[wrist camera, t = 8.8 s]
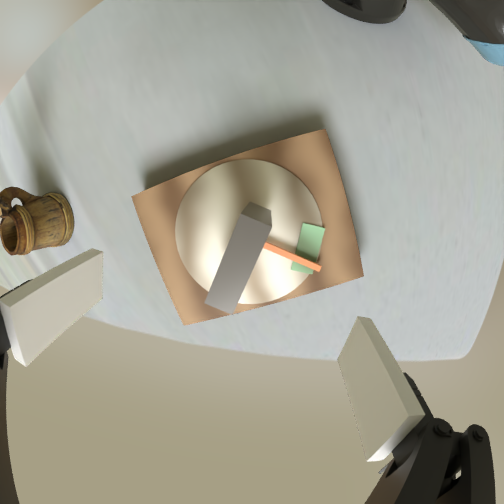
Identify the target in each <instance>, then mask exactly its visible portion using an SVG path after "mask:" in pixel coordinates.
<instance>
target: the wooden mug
mask: <svg viewBox="0 0 504 504" xmlns="http://www.w3.org/2000/svg"><path fill="white" fill-rule="evenodd" d="M13 198H18V199H20V201H21V202H22V206H21V205H17V204H16V205H14V207H13V208H12V206H11V201H12V200H13ZM0 217H1V218H2V220H1V224H0V236H1V241H2V244H3V247H4V248H5V250H6V251H7V252H8V253H9V254H10V255H16V254H18V255H25V254H28V253H30V252H31V251H33V250H37V249H42V248H46V247H57V246H62V245H65V244H66V243H67V242H68V241H69V240H70V238H71V236H72V233H73V229H74V217H73V213H72V210H71V207H70V205H69V203H68V202H67V200H66V198H64V197H63V196H62V195H61V194H58V193H52V192H50V193H47V194H45V195H43V196H42V197H41V196H34V195H32V194H30V193H28V192H26V191H24V190H22V189H20V188H18V187H9V188H5V189H4V190H3V191H1V192H0Z"/></svg>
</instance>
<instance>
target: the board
mask: <svg viewBox="0 0 504 504" xmlns="http://www.w3.org/2000/svg"><path fill="white" fill-rule="evenodd" d="M131 197H132V200H133V203H134V206H135V209H136V211H137V214H138V217H139V220H140V223H141V225H142V228H143V231H144V233H145V236H146V239H147V241H148V244H149V247H150V249H151V252H152V254H153V257H154V259H155V262H156V264H157V267H158V269H159V271H160V274H161V276H162V278H163V281H164V283H165V285H166V288H167V290H168V292H169V294H170V297H171V299H172V301H173V303H174V306H175V308H176V310H177V312H178V314H179V316H180V318H181V320H182V323H183V325H189V324H193V323H198V322H202V321H206V320H211V319H215V318H219V317H223V316H227V315H231V314H229V313H227V312H224V311H222V310H219V309H217V308H215V307H212V306H210V305H207V304H205V300H206V298H207V295H208V292H209V290H210V287H211V285H212V282H213V280H214V277H215V275H216V272H217V270H218V267H219V265H220V262H221V260H222V257H223V255H224V253H225V250H226V248H227V245H228V243H229V240H230V238H231V235H232V233H233V231H234V228H235V226H236V223H237V221H238V219H239V216H240V214H241V212H242V211H243V210H244V208H245V207H246V206H247V205H248V203H249V202H253V203H255V204H257V205H260V206H262V207H264V208H267V209H269V210H271V216H272V229H271V231H270V233H269V235H268V238H267V240H266V242H269V243H271V244H273V245H276V246H278V247H280V248H283V249H285V250H287V251H290V252H292V253H294V254H297V255H299V256H301V257H303V258H306V259H308V260H310V261H313V262H315V263H317V264H319V265H321V266H322V267H321V269H320V271H319V272H318V271H316V270H313V269H311V268H309V267H306V266H304V265H302V264H299V263H297V262H295V261H292V260H290V259H288V258H285V257H283V256H281V255H278V254H276V253H274V252H271V251H269V250H267V249H264V248H263V249H262V251H261V253H260V255H259V258H258V260H257V262H256V264H255V267H254V269H253V271H252V273H251V275H250V278H249V280H248V282H247V284H246V286H245V289H244V291H243V293H242V295H241V297H240V299H239V302H238V304H237V306H236V308H235V310H234V313H233V314H235V313H239V312H243V311H247V310H251V309H255V308H259V307H262V306H266V305H270V304H274V303H277V302H281V301H284V300H288V299H291V298H295V297H298V296H302V295H305V294H309V293H312V292H315V291H319V290H322V289H325V288H329V287H332V286H335V285H338V284H341V283H345V282H348V281H351V280H354V279H357V278H360V277H363V276H364V274H363V269H362V264H361V258H360V253H359V249H358V244H357V239H356V235H355V230H354V226H353V222H352V217H351V213H350V209H349V205H348V202H347V198H346V194H345V190H344V187H343V183H342V180H341V176H340V173H339V169H338V166H337V163H336V159H335V156H334V153H333V150H332V147H331V144H330V141H329V138H328V135H327V132H326V129H322V130H318V131H314V132H310V133H306V134H302V135H299V136H295V137H291V138H288V139H284V140H281V141H277V142H274V143H270V144H267V145H264V146H261V147H257V148H254V149H251V150H248V151H245V152H242V153H239V154H236V155H233V156H230V157H227V158H225V159H222V160H219V161H216V162H213V163H211V164H208V165H205V166H203V167H200V168H197V169H195V170H192V171H190V172H187V173H185V174H182V175H180V176H177V177H175V178H172V179H170V180H168V181H165V182H163V183H161V184H158V185H156V186H154V187H151V188H149V189H147V190H145V191H142V192H140V193H138V194H136V195H134V196H131Z"/></svg>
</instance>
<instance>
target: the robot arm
mask: <svg viewBox="0 0 504 504" xmlns="http://www.w3.org/2000/svg"><path fill="white" fill-rule="evenodd" d="M322 1H324V2H325V3H326V4H327V5H329V6H330V7H332V8H333V9H335V10H336V11H338V12H340V13H342V14H344V15H346V16H348V17H351V18H354V19H356V20H360V21H363V22H368V23H376V24H383V23H389V22H392V21H394V20H396V19H397V18H398V17H399V16H400V15H401V14H402V13H403V11H404V10H405V8H406V3H407V0H322ZM429 1H430V2H431V3H432V4H434V5H435V6H436V7H437V8H438V9H439V10H440V11H441V12H442V13H443V14H444V15H445V16H446V17H447V18H448V19H449V20H450V21H451V22H452V23H453V24H454V25H455V26H456V28H457V29H458V30H459V31H460V32H461V33H462V35H463V37H464V38H465V39H466V40H467V41H469V42H470V43H471V44H472V45H473V46H474V47H475V48H476V50H477V51H478V52H479V53H480V54H481V56H482V57H483V58H484V59H486V60H487V61H489V62H491V63H493V64H496V65H499V66H504V0H429ZM102 281H103V252H102V251H99V250H96V249H93V248H92V249H90V250H88V251H86V252H84V253H82V254H80V255H78V256H76V257H74V258H72V259H70V260H68V261H66V262H64V263H62V264H60V265H58V266H56V267H55V268H53V269H51V270H49V271H47V272H45V273H44V274H42V275H40V276H38V277H36V278H34V279H32V280H28V281H26V282H24V283H23V284H21V285H20V286H17V287H16V288H14V290H13V289H12V290H11V291H9V292H7V293H5V294H4V295H2V296H1V297H0V504H19V501H18V497H17V493H16V489H15V484H14V479H13V474H12V469H11V462H10V455H9V448H8V439H7V438H8V437H7V424H6V382H7V367H8V354H7V350H8V349H9V348H11V349H12V352H13V355H14V358H15V359H16V360H17V361H19V362H20V363H21V364H23V365H24V366H28V365H29V364H30V363H31V362H32V361H33V360H34V359H35V358H36V357H37V356H38V355H39V354H40V353H41V352H42V351H43V350H45V349H46V348H47V347H48V346H49V345H50V344H51V343H52V342H53V341H54V340H55V339H56V338H58V337H59V336H60V335H61V334H62V333H63V332H64V331H65V330H67V329H68V328H69V327H70V326H71V325H72V324H73V323H74V322H76V321H77V320H78V319H79V318H80V317H82V316H83V315H84V314H85V313H86V312H87V311H89V310H90V309H91V308H92V307H93V306H94V305H96V304H97V303H98V302H99V301H100V300H102V299H103V290H102ZM337 360H338V363H339V366H340V369H341V372H342V376H343V379H344V382H345V385H346V389H347V392H348V396H349V399H350V402H351V406H352V409H353V413H354V417H355V420H356V424H357V427H358V431H359V435H360V438H361V442H362V446H363V450H364V454H365V458H366V461H378V460H383V459H385V458H386V457H387V456H388V455H389V454H390V453H391V452H392V453H393V456H394V458H393V459H392V460H391V461H390V462H389V463H388V464H387V465H386V466H385V467H384V468H382V469H381V470H380V471H379V473H380V474H381V473H382V472H383V471H384V473H383V475H382V477H381V478H380V480H379V482H378V483H377V485H376V487H375V488H374V490H373V491H372V493H371V495H370V496H369V498H368V499H367V501H366V502H365V504H496V502H495V501H496V500H495V479H494V469H493V460H492V453H491V447H490V441H489V436H488V434H487V432H486V431H485V429H484V428H483V427H481V426H479V425H476V424H473V425H471V426H469V427H468V428H467V430H466V431H465V432H464V433H459V432H454V431H453V429H452V427H451V426H450V424H449V423H448V422H446V421H445V420H443V419H440V418H434V417H433V415H432V413H431V411H430V409H429V408H428V406H427V404H426V402H425V400H424V398H423V397H422V396H421V393H420V391H419V390H418V388H417V386H416V384H415V383H414V381H413V379H411V378H410V377H409V376H408V375H407V374H406V373H403V372H402V370H401V369H400V367H399V365H398V363H397V362H396V360H395V358H394V356H393V355H392V353H391V351H390V350H389V348H388V346H387V345H386V343H385V341H384V340H383V338H382V336H381V335H380V333H379V331H378V330H377V328H376V326H375V325H374V323H373V322H372V320H371V319H370V318H365V317H360V316H358V317H357V319H356V321H355V323H354V326H353V328H352V330H351V332H350V334H349V337H348V339H347V341H346V343H345V345H344V347H343V349H342V351H341V353H340V355H339V357H338V359H337ZM460 470H461V476H460V477H459V478H457V479H456V473H458V472H459V471H460Z"/></svg>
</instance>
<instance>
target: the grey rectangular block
mask: <svg viewBox="0 0 504 504" xmlns="http://www.w3.org/2000/svg"><path fill="white" fill-rule="evenodd" d="M271 229H272V216H271V210H269V209H267V208H264V207H262V206H260V205H257V204H255V203H253V202H249V203H248V205H247V206H246V207H245V208H244V210H243V211H242V212H241V214H240V216H239V219H238V221H237V223H236V226H235V228H234V231H233V233H232V235H231V238H230V240H229V243H228V245H227V248H226V250H225V253H224V255H223V257H222V260H221V262H220V265H219V267H218V270H217V272H216V275H215V277H214V280H213V282H212V285H211V287H210V290H209V292H208V295H207V298H206V300H205V304H207V305H210V306H212V307H215V308H217V309H219V310H222V311H224V312H227V313H229V314H232V315H233V313H234V310H235V308H236V306H237V304H238V302H239V299H240V297H241V295H242V293H243V291H244V289H245V286H246V284H247V282H248V280H249V278H250V275H251V273H252V271H253V269H254V267H255V264H256V262H257V260H258V258H259V255H260V253H261V251H262V249H263V248H264V249H267V250H269V251H271V252H274V253H276V254H278V255H281V256H283V257H285V258H288V259H290V260H292V261H295V262H297V263H299V264H302V265H304V266H306V267H309V268H311V269H313V270H316V271H318V272H319V271H320V269H321V267H322V266H321V265H319V264H317V263H315V262H313V261H310V260H308V259H306V258H303V257H301V256H299V255H297V254H294V253H292V252H290V251H287V250H285V249H283V248H280V247H278V246H276V245H273V244H271V243H269V242H266V240H267V238H268V235H269V233H270V231H271Z"/></svg>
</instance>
